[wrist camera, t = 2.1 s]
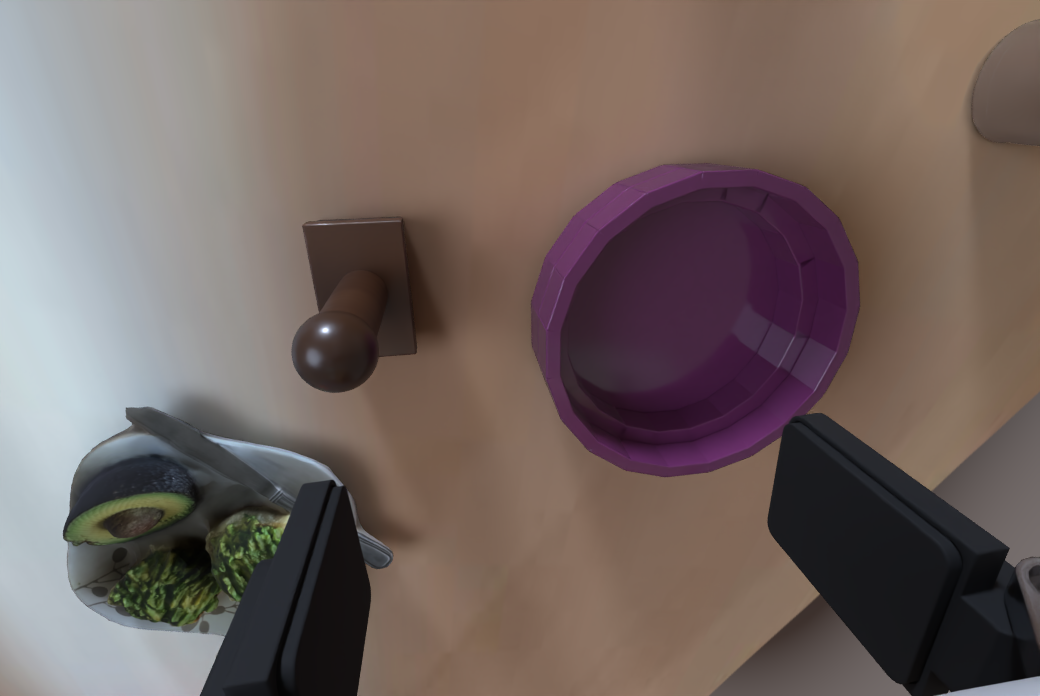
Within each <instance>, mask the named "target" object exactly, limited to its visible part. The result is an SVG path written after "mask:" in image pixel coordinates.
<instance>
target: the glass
mask: <svg viewBox="0 0 1040 696" xmlns="http://www.w3.org/2000/svg"><path fill="white" fill-rule="evenodd" d="M972 116H973V120H974V124H975V126H976V128H977V130H978V131H979V133H980V134H981V135H982V136H983V137H985V138H986V139H988V140H990V141H992V142H996V143H1013V144H1022V145H1031V146H1040V19H1038V20H1033V21H1030V22H1027V23H1025V24H1023V25H1021V26H1019V27H1017V28H1016V29H1014V30H1013V31H1011V32H1010V33H1009V34H1008V35H1006V36H1005V37H1004V38H1003V39H1002V40H1001V41H1000V42H999V43H998V44H997V45H996V47H995V48H994V49H993V50H992V52H991V53H990V55H989V56H988V58H987V59H986V61H985V62H984V64H983V66H982V68H981V70H980V72H979V75H978V77H977V80H976V83H975V86H974V91H973V96H972Z"/></svg>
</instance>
